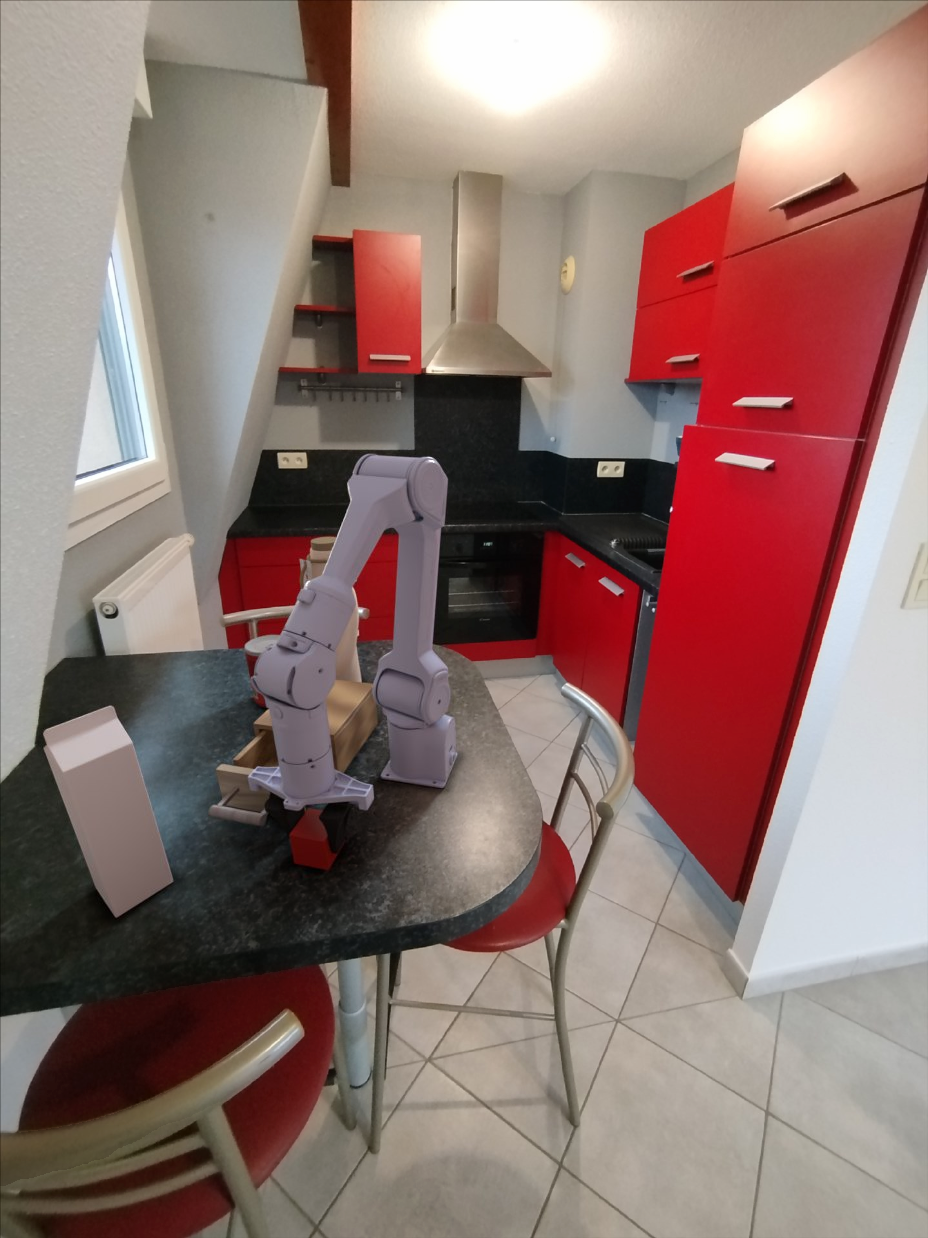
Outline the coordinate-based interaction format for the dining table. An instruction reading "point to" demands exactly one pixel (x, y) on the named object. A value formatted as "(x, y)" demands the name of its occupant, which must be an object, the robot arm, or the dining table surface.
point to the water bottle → (347, 647)
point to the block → (311, 842)
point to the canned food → (252, 654)
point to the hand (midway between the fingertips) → (318, 843)
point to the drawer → (245, 782)
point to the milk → (108, 807)
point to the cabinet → (342, 720)
